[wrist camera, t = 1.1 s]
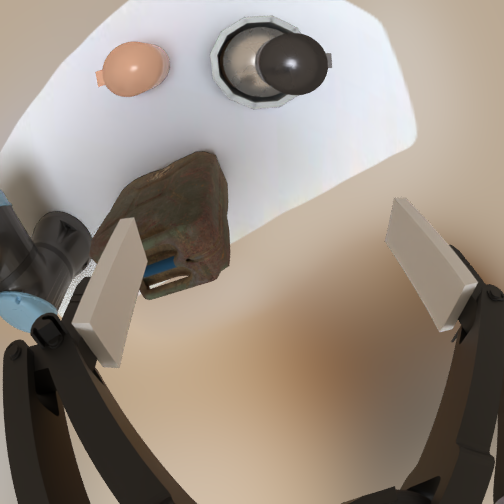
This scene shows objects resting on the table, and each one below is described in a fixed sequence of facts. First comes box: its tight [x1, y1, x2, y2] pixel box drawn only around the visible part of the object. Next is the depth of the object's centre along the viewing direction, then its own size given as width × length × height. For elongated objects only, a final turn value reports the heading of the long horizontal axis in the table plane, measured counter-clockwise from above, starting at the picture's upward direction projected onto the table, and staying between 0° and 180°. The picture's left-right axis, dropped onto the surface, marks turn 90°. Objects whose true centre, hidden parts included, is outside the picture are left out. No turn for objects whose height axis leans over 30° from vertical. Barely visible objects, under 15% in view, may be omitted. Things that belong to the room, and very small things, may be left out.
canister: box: [88, 152, 230, 300], centre depth 42 cm, size 19×8×25 cm, turn 110°
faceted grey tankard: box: [210, 16, 332, 109], centre depth 35 cm, size 15×13×13 cm
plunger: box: [223, 27, 328, 97], centre depth 23 cm, size 9×9×18 cm
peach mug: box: [96, 42, 170, 97], centre depth 35 cm, size 10×8×9 cm
